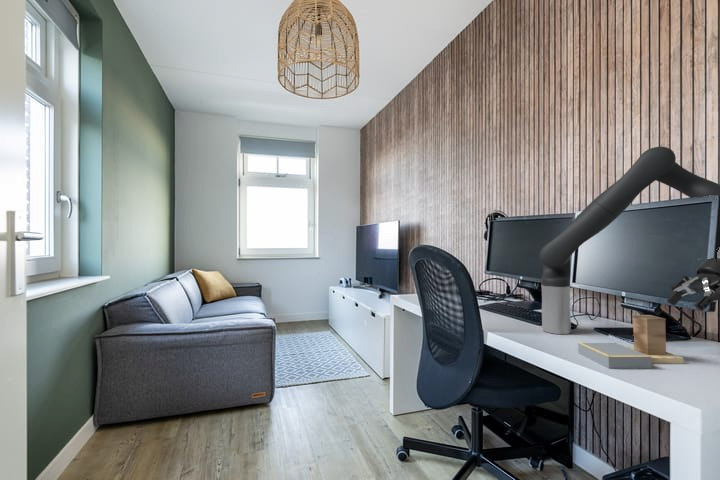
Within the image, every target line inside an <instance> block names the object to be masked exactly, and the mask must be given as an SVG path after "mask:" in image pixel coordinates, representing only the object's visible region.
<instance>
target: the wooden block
mask: <svg viewBox="0 0 720 480" xmlns="http://www.w3.org/2000/svg"><path fill="white" fill-rule="evenodd" d="M632 319H633V320H632V321H633V325H632V326H633V336H634V346H633V347H634V350H637V351H639V352H642V353H644V354H647V355H666V352H667V336H666V321H667V318H664V317H660V316H657V315H652V314H632Z"/></svg>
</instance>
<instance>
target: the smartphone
mask: <svg viewBox="0 0 720 480" xmlns="http://www.w3.org/2000/svg"><path fill="white" fill-rule="evenodd" d="M611 334H612V333H609V334H608V337H609V338H611V339H614V340H617V341H619V342H622V343H625V344H628V345H630V346H632V347H634V342H631V341H627V340H623V339H620V338H618V337H615V336H613V335H611Z"/></svg>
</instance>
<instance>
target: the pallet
mask: <svg viewBox="0 0 720 480" xmlns="http://www.w3.org/2000/svg"><path fill="white" fill-rule="evenodd" d="M626 347H627V348H630V349H632V350H634V346H629V347H628V346H626ZM635 351H637V350H635ZM637 352H639V351H637ZM640 353H642V352H640ZM643 354H644V353H643ZM645 355H647V354H645ZM648 356H651V365H652V364H653V365H654V364H657V365H663V364H664V365H665V364H669V365H672V364H673V365H677V364H680V365H681V364H683V365H684V363H685V360H684V359H685V358H684V357H681V356H679V355H676V354H673V353H671V352H669V351H666V355H648Z"/></svg>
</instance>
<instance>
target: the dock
mask: <svg viewBox="0 0 720 480" xmlns="http://www.w3.org/2000/svg"><path fill="white" fill-rule="evenodd" d="M627 347H628V346H625V345H622V344H619V343H617V342H577V352H578V354H580V355H582V356H583V357H586V358H588V359H589V360H591V361H594V362H595V363H597V364H600V365H601V366H603V367H605V368H607V369H652V364H651V356H648V355H645V354H643V353H640V352H637V351H635V350H632V349H630V348H627Z"/></svg>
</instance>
